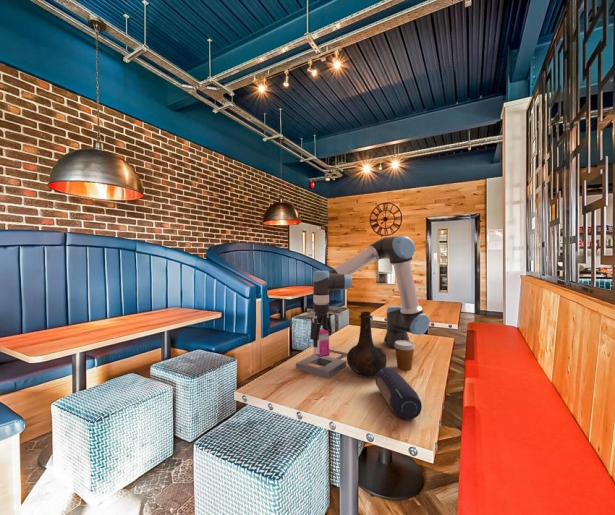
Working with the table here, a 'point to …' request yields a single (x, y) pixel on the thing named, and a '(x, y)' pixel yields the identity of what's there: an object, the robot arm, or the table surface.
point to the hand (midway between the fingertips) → (321, 351)
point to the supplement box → (323, 343)
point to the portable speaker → (398, 393)
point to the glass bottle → (366, 351)
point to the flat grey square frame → (340, 353)
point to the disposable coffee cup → (404, 354)
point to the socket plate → (325, 371)
